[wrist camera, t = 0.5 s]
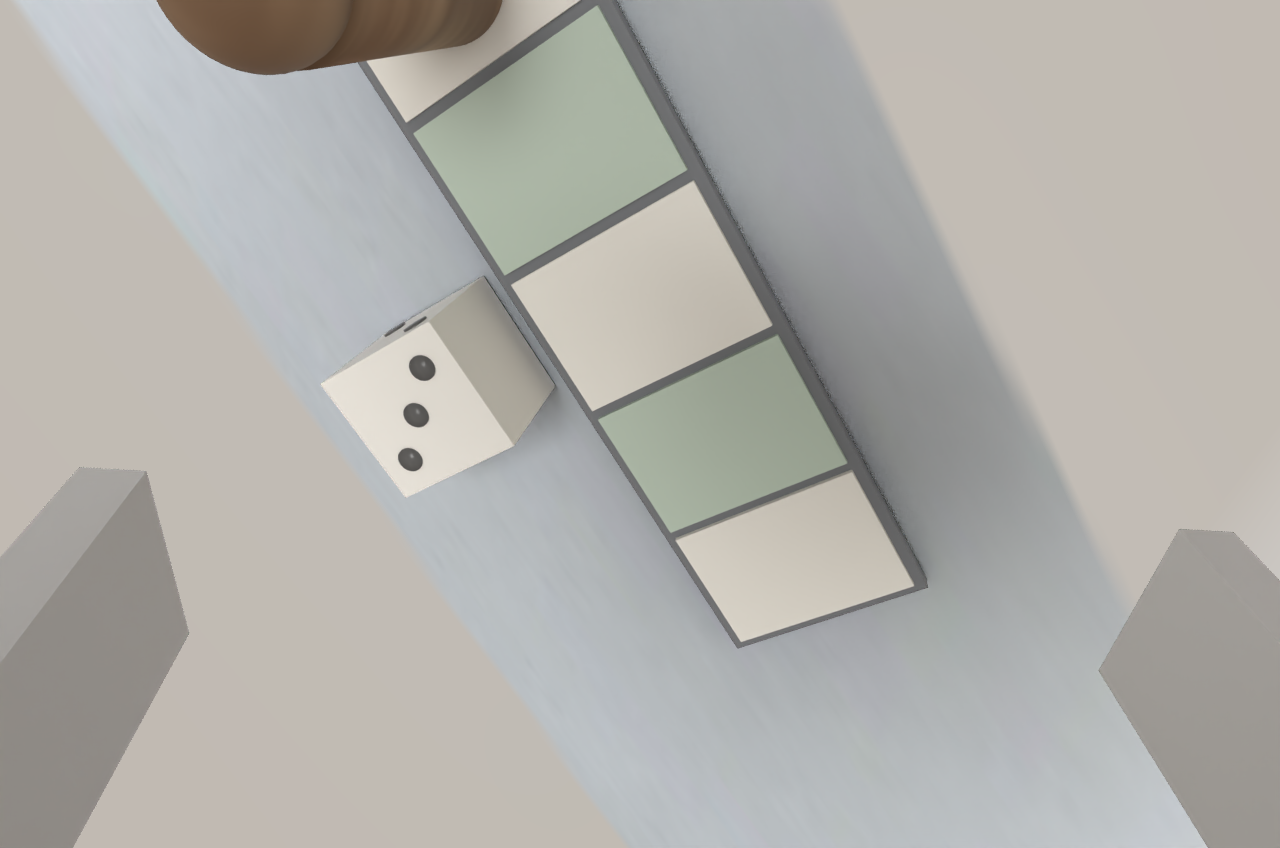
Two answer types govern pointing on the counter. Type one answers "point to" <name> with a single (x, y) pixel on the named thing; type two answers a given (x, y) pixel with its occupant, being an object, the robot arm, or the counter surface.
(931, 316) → the counter surface
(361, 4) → the pawn
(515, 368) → the die
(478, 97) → the board
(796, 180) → the counter surface
